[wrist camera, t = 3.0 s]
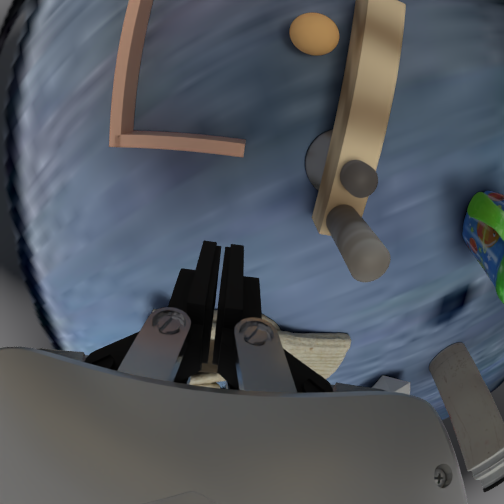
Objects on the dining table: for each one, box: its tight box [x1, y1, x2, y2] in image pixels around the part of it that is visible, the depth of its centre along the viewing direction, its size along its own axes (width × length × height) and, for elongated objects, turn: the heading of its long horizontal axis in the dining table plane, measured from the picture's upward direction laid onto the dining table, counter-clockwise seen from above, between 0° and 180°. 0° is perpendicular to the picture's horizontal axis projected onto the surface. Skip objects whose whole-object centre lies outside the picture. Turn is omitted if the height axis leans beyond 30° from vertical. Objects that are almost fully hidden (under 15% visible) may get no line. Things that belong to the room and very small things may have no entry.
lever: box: [312, 0, 406, 282], centre depth 14 cm, size 20×3×9 cm, turn 171°
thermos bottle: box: [429, 343, 504, 492], centre depth 25 cm, size 8×8×28 cm
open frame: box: [109, 0, 246, 157], centre depth 15 cm, size 17×10×2 cm, turn 171°
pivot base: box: [305, 130, 333, 191], centre depth 21 cm, size 6×6×1 cm
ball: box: [289, 13, 339, 55], centre depth 15 cm, size 4×4×4 cm
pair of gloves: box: [153, 309, 351, 388], centre depth 35 cm, size 30×26×5 cm
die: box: [372, 375, 410, 395], centre depth 36 cm, size 8×9×10 cm
